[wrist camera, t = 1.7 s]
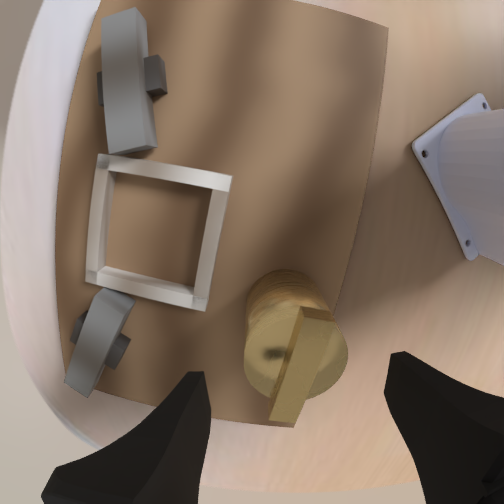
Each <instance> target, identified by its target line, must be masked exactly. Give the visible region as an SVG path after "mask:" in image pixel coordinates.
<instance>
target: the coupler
mask: <svg viewBox="0 0 504 504" xmlns="http://www.w3.org/2000/svg"><path fill="white" fill-rule="evenodd" d="M347 359H348V349H347V345H346V342H345V340H344V337H343V335H342V334H341V332H340V330H339V328H338V326H337V324H336V322H335V320H334V318H333V316H332V314H331V312H330V310H329V308H328V306H327V304H326V302H325V300H324V298H323V297H322V295H321V293H320V291H319V289H318V287H317V285H316V284H315V282H314V281H313V280H312V279H311V278H310V277H309V276H307V275H306V274H304V273H302V272H300V271H297V270H292V269H279V270H274V271H271V272H269V273H267V274H265V275H263V276H262V277H260V278H259V279H258V280H257V281H256V282H255V283H254V284H253V286H252V287H251V289H250V291H249V293H248V296H247V301H246V322H245V345H244V370H245V374H246V377H247V379H248V380H249V382H250V383H251V385H252V386H253V387H254V388H255V389H256V390H257V391H259V392H260V393H261V394H263V395H265V396H267V397H269V398H270V401H269V403H268V418H269V420H271V421H280V422H289V423H296V421H297V418H298V416H299V414H300V412H301V409H302V407H303V405H304V402H305V400H306V399H310V398H313V397H315V396H317V395H320V394H321V393H323V392H325V391H326V390H328V389H329V388H330V387H332V386H333V385H334V384H335V383H336V382H337V381H338V379H339V378H340V377H341V375H342V373H343V372H344V370H345V367H346V364H347Z"/></svg>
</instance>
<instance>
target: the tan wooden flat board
mask: <svg viewBox="0 0 504 504" xmlns="http://www.w3.org/2000/svg"><path fill="white" fill-rule="evenodd" d="M388 29H389V28H387V27H385V26H382V25H379V24H376V23H373V22H371V21H368V20H365V19H362V18H359V17H355V16H352V15H349V14H346V13H342V12H339V11H335V10H332V9H328V8H324V7H320V6H316V5H312V4H307V3H303V2H298V1H293V0H101V2H100V5H99V7H98V10H97V13H96V15H95V18H94V21H93V24H92V27H91V30H90V33H89V36H88V39H87V42H86V45H85V48H84V52H83V55H82V59H81V62H80V66H79V70H78V73H77V77H76V81H75V85H74V90H73V94H72V99H71V103H70V108H69V113H68V118H67V124H66V130H65V136H64V142H63V149H62V156H61V164H60V173H59V183H58V195H57V210H56V236H55V266H56V292H57V308H58V319H59V329H60V338H61V346H62V353H63V360H64V367H65V373H66V377H65V380H64V383H66V384H67V385H69V386H70V387H71V388H73V389H74V390H76V391H77V392H79V393H81V394H82V395H84V396H85V397H87V398H88V397H89V395H90V394H91V392H92V391H93V389H96V390H99V391H102V392H105V393H108V394H112V395H115V396H118V397H122V398H125V399H129V400H133V401H136V402H140V403H144V404H148V405H152V406H156V407H158V406H159V404H160V403H161V402H162V401H163V400H164V399H165V398H166V397H167V396H168V394H169V393H170V392H171V391H172V390H173V389H174V387H175V386H176V385H177V384H178V383H179V381H180V380H181V379H182V378H183V377H184V375H185V374H186V373H187V372H188V371H204V374H205V380H206V385H207V390H208V395H209V400H210V405H211V418H215V419H222V420H228V421H235V422H242V423H250V424H259V425H268V426H279V427H292V428H294V425H295V423H289V422H280V421H271V420H269V418H268V403H269V401H270V398H269V397H267V396H265V395H263V394H261V393H260V392H259V391H257V390H256V389H255V388H254V387H253V386H252V385H251V383H250V382H249V380H248V379H247V377H246V374H245V370H244V345H245V322H246V301H247V296H248V293H249V291H250V289H251V287H252V286H253V284H254V283H255V282H256V281H257V280H258V279H259V278H260V277H262V276H263V275H265V274H267V273H269V272H271V271H274V270H279V269H292V270H297V271H300V272H302V273H304V274H306V275H307V276H309V277H310V278H311V279H312V280H313V281H314V282H315V284H316V285H317V287H318V289H319V291H320V293H321V295H322V297H323V298H324V300H325V302H326V304H327V306H328V308H329V310H330V312H331V314H332V316H333V315H334V311H335V308H336V305H337V301H338V298H339V294H340V291H341V288H342V284H343V280H344V277H345V273H346V269H347V266H348V262H349V258H350V254H351V250H352V246H353V242H354V238H355V234H356V230H357V226H358V222H359V217H360V213H361V209H362V204H363V199H364V195H365V190H366V185H367V180H368V175H369V170H370V165H371V160H372V154H373V149H374V143H375V137H376V131H377V125H378V118H379V111H380V104H381V97H382V89H383V81H384V73H385V64H386V53H387V42H388Z"/></svg>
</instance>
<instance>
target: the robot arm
mask: <svg viewBox="0 0 504 504" xmlns="http://www.w3.org/2000/svg"><path fill="white" fill-rule="evenodd" d="M482 104H483V105H484V108H483V106H482ZM412 150H413V152H414V154H415V155H416V157H417V159H418V160H419V162H420V164H421V166H422V167H423V169H424V171H425V173H426V175H427V177H428V178H429V180H430V182H431V184H432V186H433V188H434V190H435V192H436V194H437V196H438V197H439V199H440V201H441V204H442V206H443V208H444V210H445V212H446V214H447V216H448V218H449V220H450V222H451V225H452V227H453V229H454V231H455V234H456V236H457V238H458V240H459V243H460V245H461V248H462V250H463V252H464V255H465V257H466V259H468V260H470V261H472V260H474V259H475V258H476V257H477V256H478V255H479V254H480V255H482V256H484V257H486V258H489V259H491V260H493V261H495V262H497V263H499V264H501V265H503V266H504V109H497V110H491V108H490V107H489V105H488V103H487V101H486V99H485V97H484V96H483V95H482V94H481V93H477V94H475V95H473V96H472V97H471V98H470V99H468V100H467V101H466V102H464V103H463V104H462V105H460V106H459V107H458V108H456V109H455V110H454V111H453V112H451V113H450V114H449V115H447V116H446V117H445V118H443V119H442V120H441V121H439V122H438V123H437V124H435V125H434V126H433V127H431V128H430V129H429V130H427V131H426V132H425V133H424V134H422V135H421V136H420V137H418V138H417V139H416V140H414V141H413V143H412ZM422 151H424V152H425V157H424V158H423V156H422ZM467 240H468V242H467V244H465V243H466V241H467ZM384 395H385V398H386V402H387V405H388V407H389V410H390V413H391V415H392V417H393V419H394V421H395V423H396V425H397V427H398V429H399V431H400V433H401V435H402V437H403V439H404V441H405V443H406V445H407V447H408V449H409V451H410V453H411V455H412V457H413V460H414V462H415V465H416V468H417V471H418V475H419V478H420V481H421V485H422V488H423V492H424V496H425V501H426V504H504V398H503V397H499V396H495V395H492V394H488V393H485V392H482V391H480V390H477V389H475V388H472V387H470V386H467V385H465V384H463V383H461V382H459V381H457V380H455V379H453V378H451V377H449V376H447V375H445V374H443V373H442V372H440V371H438V370H436V369H435V368H433V367H431V366H430V365H428V364H426V363H425V362H423V361H421V360H420V359H418V358H416V357H415V356H413V355H411V354H409V353H407V352H405V351H403V352H397V353H392V354H391V357H390V363H389V368H388V374H387V379H386V384H385V389H384ZM210 425H211V405H210V400H209V395H208V390H207V385H206V380H205V374H204V371H188V372H187V373H186V374H185V375H184V377H183V378H182V379H181V380H180V381H179V383H178V384H177V385H176V386H175V387H174V389H173V390H172V391H171V392H170V393H169V394H168V396H167V397H166V398H165V399H164V400H163V401H162V402H161V403H160V404H159V406H158V407H157V408H156V409H155V410H153V411H152V412H151V413H150V414H149V415H148V416H147V417H146V418H145V419H144V420H143V421H142V422H141V423H140V424H138V425H137V426H136V427H135V428H133V429H132V430H131V431H129V432H128V433H127V434H125V435H124V436H122V437H121V438H119V439H118V440H116V441H114V442H113V443H111V444H110V445H108V446H106V447H104V448H103V449H101V450H99V451H97V452H95V453H93V454H91V455H88V456H86V457H84V458H81V459H79V460H76V461H73V462H70V463H67V464H65V465H62V466H58V467H56V468H55V470H54V471H53V473H52V475H51V477H50V479H49V481H48V483H47V484H46V486H45V488H44V490H43V492H42V494H41V498H42V500H43V502H44V504H198V494H199V484H200V477H201V472H202V468H203V463H204V458H205V454H206V449H207V444H208V439H209V434H210Z"/></svg>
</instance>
